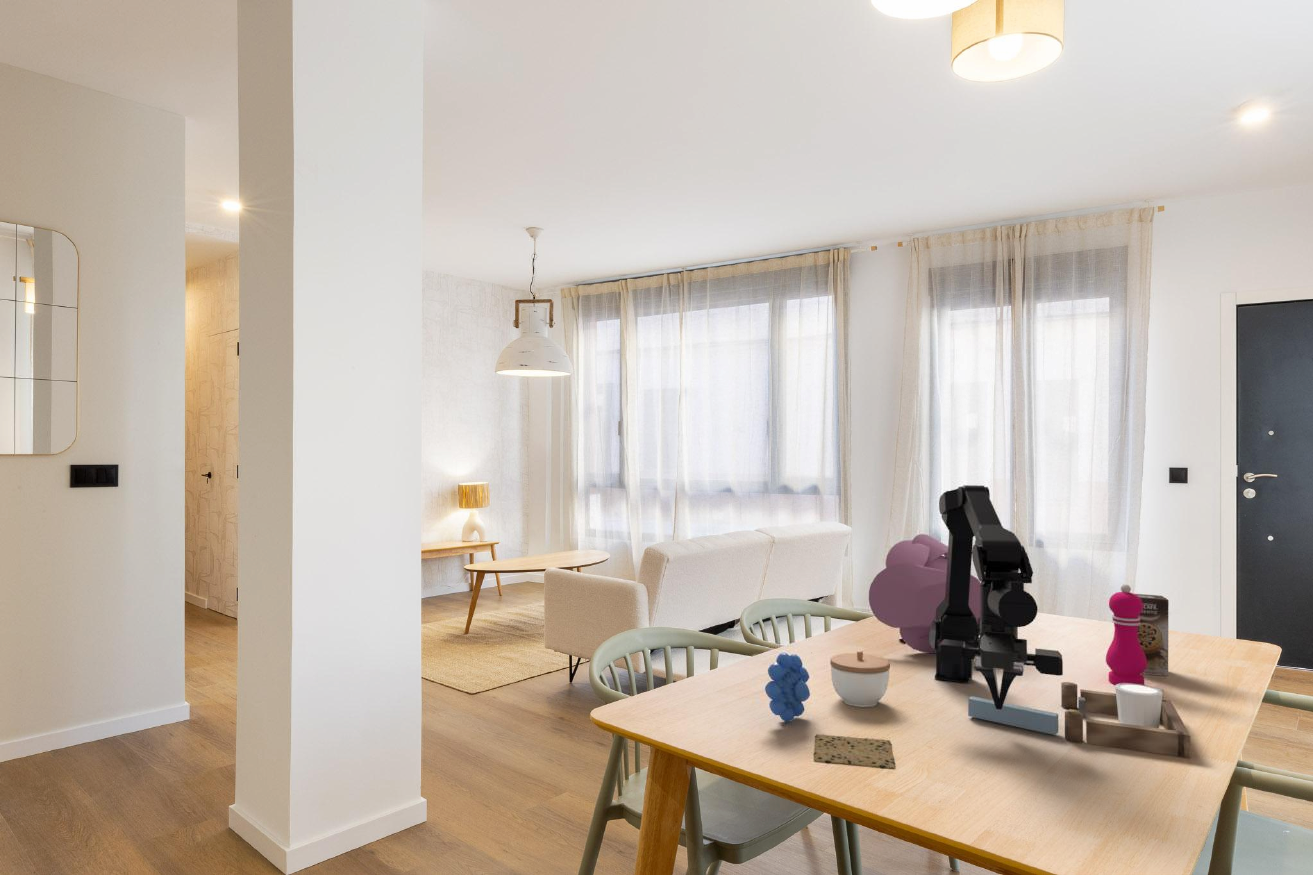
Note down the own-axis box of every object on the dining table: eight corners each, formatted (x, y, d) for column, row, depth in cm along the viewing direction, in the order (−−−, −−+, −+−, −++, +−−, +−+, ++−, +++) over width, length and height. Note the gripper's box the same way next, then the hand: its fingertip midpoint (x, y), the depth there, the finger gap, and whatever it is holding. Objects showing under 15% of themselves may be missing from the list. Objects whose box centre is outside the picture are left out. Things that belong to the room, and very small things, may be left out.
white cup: (1105, 723, 135) (1105, 682, 135) (1143, 722, 136) (1143, 682, 136) (1133, 738, 128) (1133, 694, 128) (1173, 737, 129) (1172, 694, 129)
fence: (1065, 740, 127) (1064, 712, 127) (1061, 704, 146) (1061, 679, 146) (1191, 759, 119) (1190, 728, 119) (1169, 718, 138) (1169, 691, 138)
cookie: (891, 742, 126) (891, 736, 126) (896, 772, 115) (896, 765, 115) (815, 736, 129) (815, 730, 129) (812, 764, 117) (812, 758, 117)
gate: (1055, 734, 128) (1055, 716, 128) (968, 715, 137) (968, 698, 137) (1058, 732, 130) (1058, 713, 130) (971, 713, 139) (971, 696, 139)
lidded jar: (837, 690, 153) (837, 642, 154) (894, 698, 149) (894, 648, 149) (824, 705, 144) (824, 654, 144) (884, 714, 139) (884, 661, 139)
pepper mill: (1153, 689, 155) (1152, 588, 156) (1113, 687, 157) (1112, 586, 157) (1138, 679, 162) (1138, 582, 163) (1100, 677, 164) (1100, 580, 164)
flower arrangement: (924, 645, 211) (907, 540, 217) (1017, 640, 198) (996, 528, 204) (875, 658, 183) (857, 537, 189) (980, 653, 170) (956, 523, 176)
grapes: (789, 736, 128) (789, 662, 128) (755, 726, 132) (756, 654, 133) (827, 719, 136) (828, 650, 136) (794, 710, 141) (795, 643, 141)
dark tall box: (1119, 671, 168) (1119, 596, 169) (1114, 664, 174) (1114, 591, 174) (1169, 676, 165) (1169, 599, 165) (1163, 668, 171) (1162, 594, 171)
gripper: (933, 617, 127) (933, 714, 127) (1063, 629, 119) (1064, 733, 119) (941, 605, 137) (941, 695, 137) (1061, 616, 129) (1061, 711, 129)
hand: (998, 708), depth 130 cm, fingers closed
